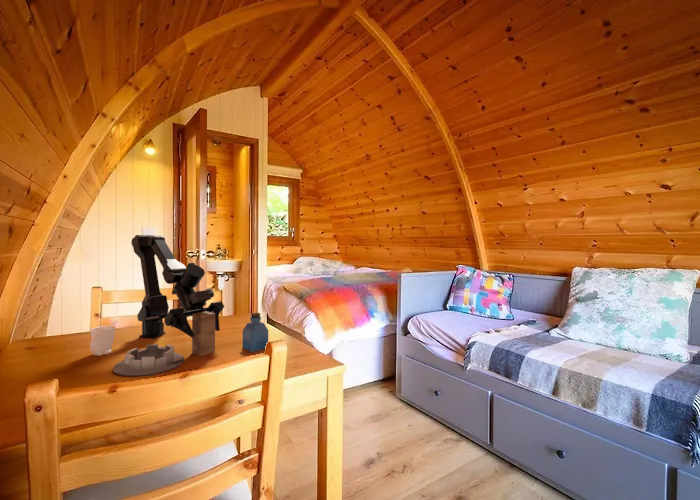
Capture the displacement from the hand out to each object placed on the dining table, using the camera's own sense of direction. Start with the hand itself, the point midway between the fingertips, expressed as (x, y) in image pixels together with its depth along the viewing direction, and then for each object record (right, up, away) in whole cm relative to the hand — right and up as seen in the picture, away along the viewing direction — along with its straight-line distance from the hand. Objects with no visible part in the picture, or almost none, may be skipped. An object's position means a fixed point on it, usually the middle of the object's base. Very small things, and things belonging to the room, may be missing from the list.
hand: (206, 333), depth 110 cm
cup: (-33, -6, -3) cm, 33 cm away
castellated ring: (-12, -7, -10) cm, 17 cm away
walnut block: (-1, -7, +1) cm, 7 cm away
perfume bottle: (+14, -7, +7) cm, 17 cm away
